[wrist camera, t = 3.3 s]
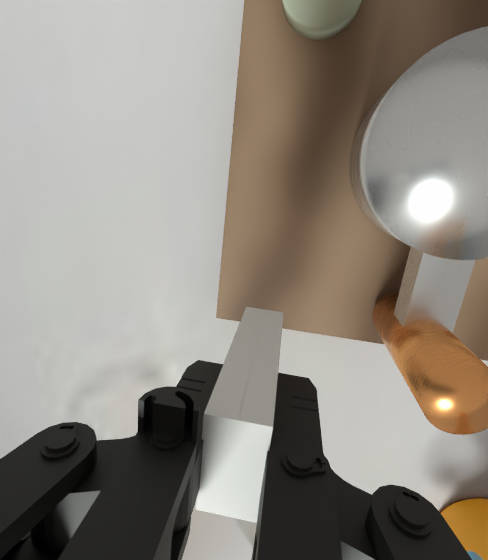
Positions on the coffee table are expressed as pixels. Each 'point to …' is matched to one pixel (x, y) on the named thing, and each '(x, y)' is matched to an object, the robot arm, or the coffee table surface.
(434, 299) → the knob
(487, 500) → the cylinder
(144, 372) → the coffee table surface
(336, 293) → the base
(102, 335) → the coffee table surface
